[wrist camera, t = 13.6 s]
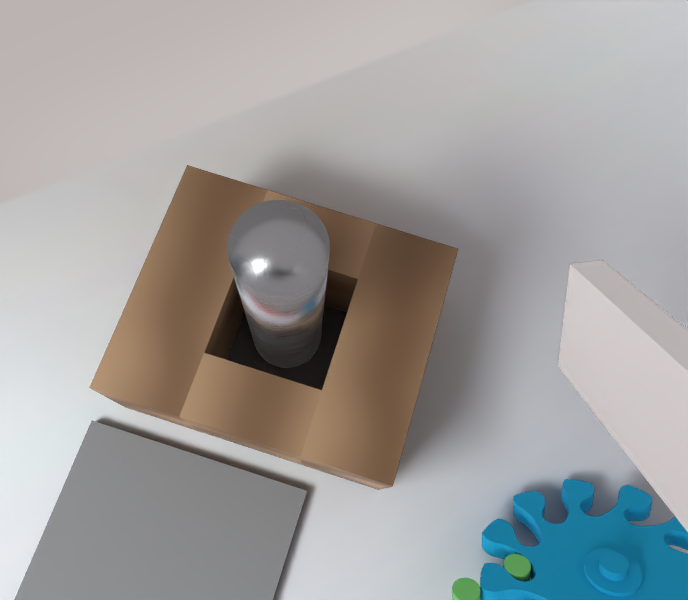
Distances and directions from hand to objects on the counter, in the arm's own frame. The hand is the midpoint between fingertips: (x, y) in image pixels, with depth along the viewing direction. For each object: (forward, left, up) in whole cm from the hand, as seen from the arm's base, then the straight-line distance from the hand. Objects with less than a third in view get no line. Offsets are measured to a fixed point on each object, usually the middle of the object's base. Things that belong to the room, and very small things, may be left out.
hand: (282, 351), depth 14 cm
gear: (+13, -2, -16) cm, 21 cm away
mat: (-4, -6, -16) cm, 18 cm away
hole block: (-2, +4, -16) cm, 16 cm away
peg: (-2, +4, -16) cm, 17 cm away
